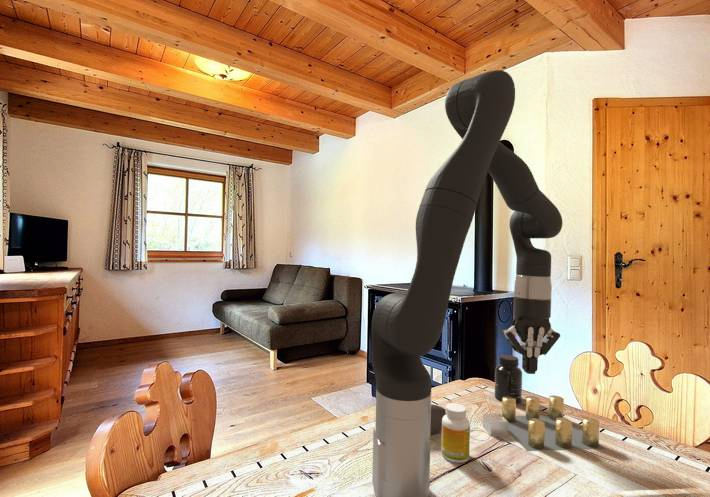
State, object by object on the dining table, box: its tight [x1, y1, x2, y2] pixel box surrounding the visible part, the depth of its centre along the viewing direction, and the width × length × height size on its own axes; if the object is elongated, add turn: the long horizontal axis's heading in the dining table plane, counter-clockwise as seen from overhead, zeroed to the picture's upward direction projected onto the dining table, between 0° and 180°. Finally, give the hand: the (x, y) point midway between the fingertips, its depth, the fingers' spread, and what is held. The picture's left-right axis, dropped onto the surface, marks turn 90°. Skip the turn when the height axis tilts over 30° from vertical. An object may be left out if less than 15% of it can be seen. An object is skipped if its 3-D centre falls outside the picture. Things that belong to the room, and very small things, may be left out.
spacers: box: [501, 395, 600, 449], centre depth 82 cm, size 15×14×5 cm
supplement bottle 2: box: [494, 354, 523, 405], centre depth 99 cm, size 7×7×12 cm
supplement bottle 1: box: [440, 402, 471, 464], centre depth 73 cm, size 5×5×10 cm
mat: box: [508, 414, 607, 452], centre depth 82 cm, size 23×15×1 cm, turn 95°
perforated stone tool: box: [430, 403, 446, 435], centre depth 81 cm, size 15×5×7 cm, turn 98°
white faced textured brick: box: [482, 413, 509, 437], centre depth 82 cm, size 4×4×3 cm
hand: (529, 372), depth 82 cm, fingers closed
